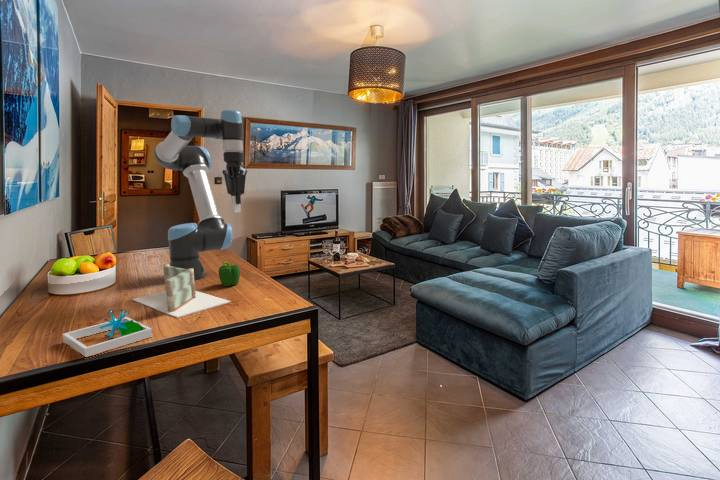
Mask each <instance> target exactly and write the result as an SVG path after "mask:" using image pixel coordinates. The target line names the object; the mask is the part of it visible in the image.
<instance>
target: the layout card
mask: <svg viewBox="0 0 720 480" xmlns="http://www.w3.org/2000/svg"><path fill="white" fill-rule="evenodd" d="M195 294H196V298H191V299H189V300H188V301H186V302H185V303H183V304H182V305H180V306H179V307H177V308H176V309H175V310H173V311H168V306H167V294H166V290H164V291H161V292H157V293H152V294H148V295H144V296H140V297H135V298H132V301H134V302H137V303H139V304H142V305H144V306H146V307H149V308H151V309H155V310H157V311H158V312H160V313H161V312H162V313H164V314H167V315H169V316H172V317H174V318H176V319H180V318H182V317H185V316H190V315H194V314H196V313H199V312H203V311H206V310H209V309H213V308H217V307H220V306H222V305H226V304H227V305H228V304H230V303H231V300H228V299H225V298H222V297H217V296H214V295H212V294H208V293H204V292H202V291H199V290H195ZM179 317H180V318H179Z"/></svg>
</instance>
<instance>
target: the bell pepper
mask: <svg viewBox="0 0 720 480" xmlns="http://www.w3.org/2000/svg"><path fill="white" fill-rule="evenodd" d="M218 277H219V280H220V284H221V285H222V287H230V286H236V285H238V283H239V281H240V277H241V268H240V266H239V265H238V264H231V263H229V262H228V261H223V262H222V265H221V266H220V267H219V269H218Z"/></svg>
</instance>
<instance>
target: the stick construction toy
mask: <svg viewBox="0 0 720 480" xmlns="http://www.w3.org/2000/svg"><path fill="white" fill-rule="evenodd" d="M124 311H125V310H123V309H120V314H119V318H117V319H118V320H117V321H116V318H115V315H114V312H113V311H111V310H110V311H109V314H110V317H111V319H107V318H104V321H105V322H110V323H111V324H107V325H104V326H101V327H100V328H101V329H103V328H104V327H109V326H113V327H112V330H111V331H108V332H107V334H104V337H106V336H107V337H109V339H110V338H113V335H114V332H115V330H117V328H118V331H119V334H120V337H122V336H125V335H129V334H132V333H135V332H139V331H142V327H141V325H140V324H139V323H140V322H139V323H136V322H134V321H135V320H134V319H132V320H131V321H127V322H122V323H121V320H122V318H124V317H126V316H127V315H129V314H130V313H129V312H128V311H126V312H124ZM133 320H134V321H133ZM108 335H109V336H108Z"/></svg>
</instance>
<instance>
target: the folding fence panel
mask: <svg viewBox="0 0 720 480" xmlns="http://www.w3.org/2000/svg"><path fill="white" fill-rule="evenodd" d="M165 283H166V289H165V291H166V294H167V306H168V311H173V310H175V309H176V308H177V307H179V306H180V305H182V304H183V303H185V302H186V301H188V300H189V299H191V298H192V291H191V279H190V270H186V271H184V272H182V273H180V274H178V275H176V276H174V277H172V278H170V279H167V280H165V279H164V284H165Z"/></svg>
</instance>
